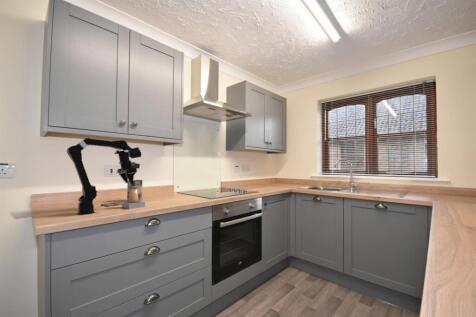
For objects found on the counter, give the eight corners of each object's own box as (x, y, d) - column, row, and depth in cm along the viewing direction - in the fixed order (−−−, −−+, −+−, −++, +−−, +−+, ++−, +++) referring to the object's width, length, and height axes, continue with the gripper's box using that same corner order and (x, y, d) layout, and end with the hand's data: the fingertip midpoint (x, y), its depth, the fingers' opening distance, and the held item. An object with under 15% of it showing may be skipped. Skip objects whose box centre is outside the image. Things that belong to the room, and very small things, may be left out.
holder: (129, 210, 134) (129, 204, 134) (122, 208, 141) (122, 202, 141) (145, 208, 142) (145, 201, 142) (137, 206, 148) (137, 200, 148)
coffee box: (131, 201, 168) (132, 180, 169) (126, 201, 172) (126, 180, 172) (142, 200, 176) (142, 179, 177) (137, 199, 180) (137, 179, 180)
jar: (131, 208, 137) (131, 187, 138) (127, 207, 141) (127, 186, 141) (140, 206, 142) (140, 186, 142) (135, 205, 145) (136, 185, 146)
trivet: (107, 208, 143) (107, 206, 143) (100, 206, 150) (100, 204, 150) (126, 205, 152) (126, 203, 152) (119, 203, 159) (119, 201, 159)
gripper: (142, 157, 143) (147, 180, 144) (131, 158, 156) (136, 179, 158) (124, 160, 135) (129, 185, 137) (114, 161, 148) (119, 183, 150)
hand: (129, 183), depth 145 cm, fingers open, 9 cm apart
